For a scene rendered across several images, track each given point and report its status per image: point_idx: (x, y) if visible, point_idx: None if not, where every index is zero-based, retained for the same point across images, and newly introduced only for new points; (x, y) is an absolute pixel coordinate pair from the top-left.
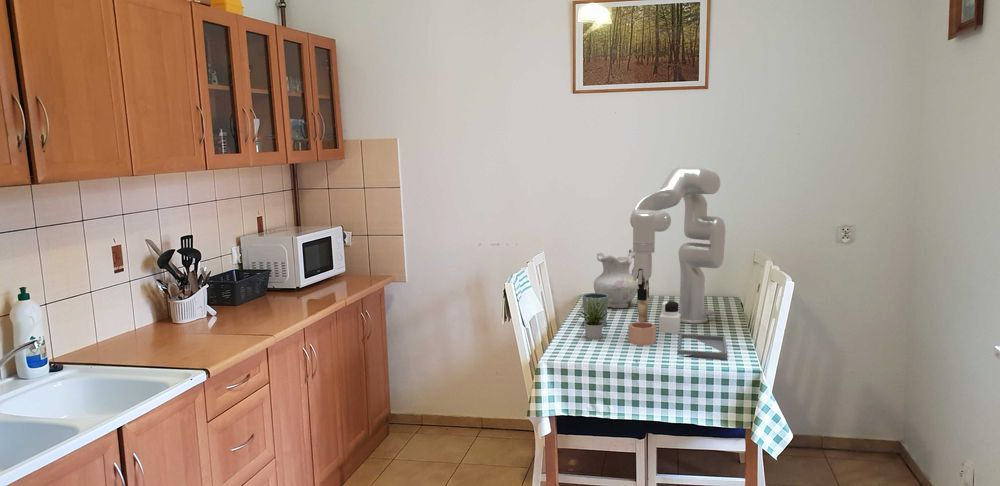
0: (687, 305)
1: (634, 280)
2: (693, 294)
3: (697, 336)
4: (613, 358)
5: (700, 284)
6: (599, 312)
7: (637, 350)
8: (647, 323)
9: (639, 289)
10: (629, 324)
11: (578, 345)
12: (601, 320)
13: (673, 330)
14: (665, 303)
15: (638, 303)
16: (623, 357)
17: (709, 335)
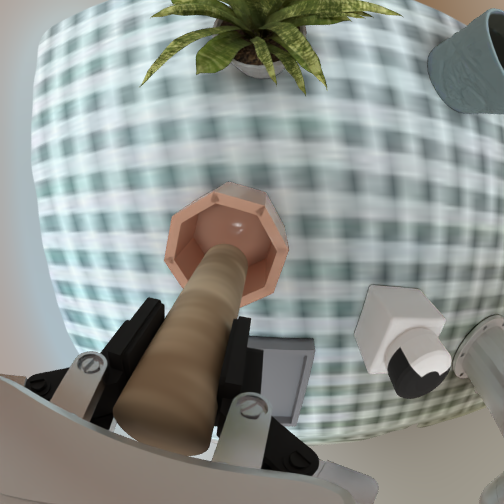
0: (488, 368)
1: (3, 379)
2: (493, 400)
3: (300, 384)
4: (72, 160)
5: (499, 428)
6: (461, 73)
7: (157, 218)
8: (267, 277)
9: (94, 362)
10: (224, 195)
11: (177, 27)
12: (448, 87)
13: (360, 333)
14: (417, 368)
15: (196, 286)
16: (84, 185)
17: (301, 405)
